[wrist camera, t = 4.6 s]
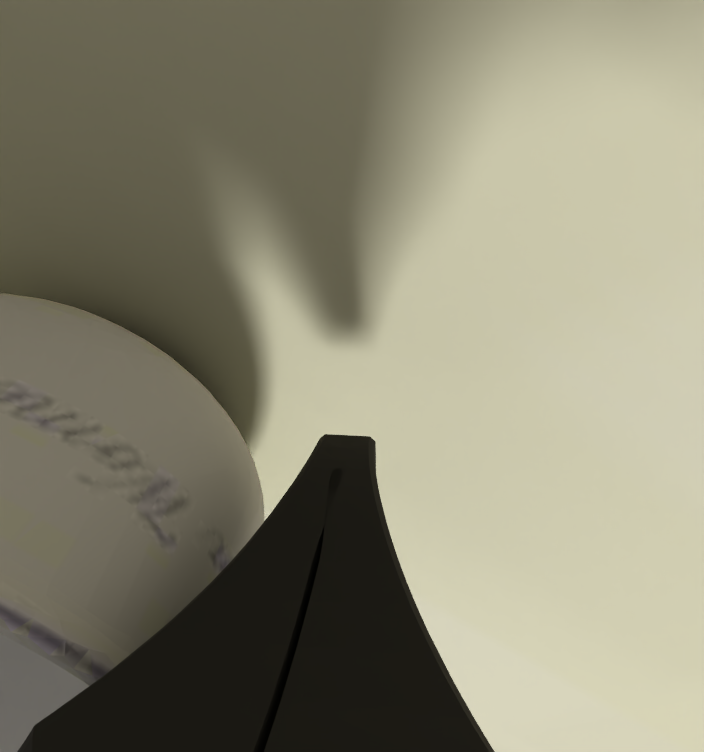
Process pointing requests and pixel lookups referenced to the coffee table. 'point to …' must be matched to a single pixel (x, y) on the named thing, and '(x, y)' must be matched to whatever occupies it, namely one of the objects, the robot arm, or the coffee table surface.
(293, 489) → the robot arm
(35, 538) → the teacup
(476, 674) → the coffee table surface
